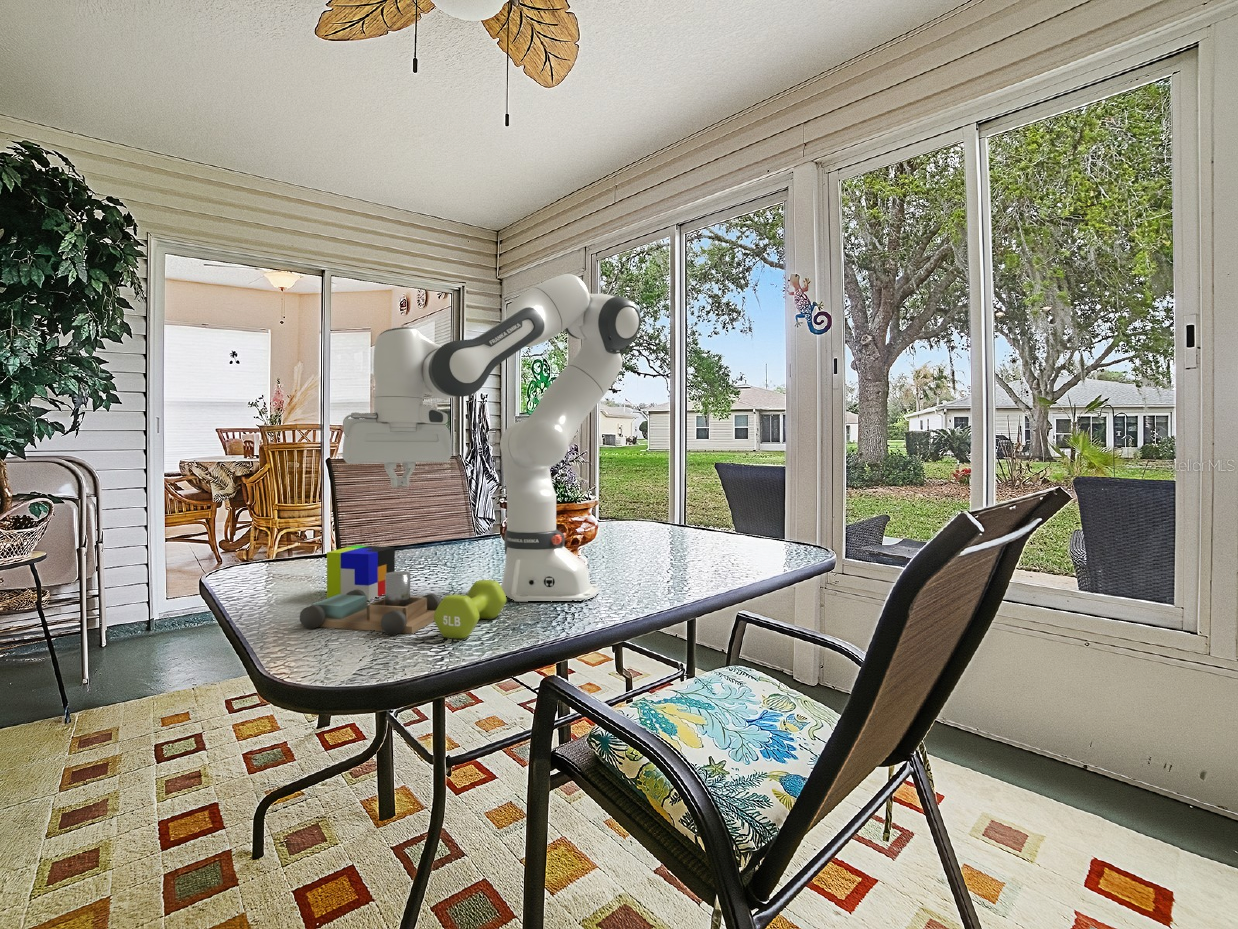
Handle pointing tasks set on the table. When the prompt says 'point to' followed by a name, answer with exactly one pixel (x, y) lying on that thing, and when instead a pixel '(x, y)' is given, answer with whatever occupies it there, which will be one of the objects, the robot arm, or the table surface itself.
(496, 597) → the dumbbell
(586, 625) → the table surface
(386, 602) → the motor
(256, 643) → the table surface
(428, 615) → the chassis
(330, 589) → the puzzle toy
